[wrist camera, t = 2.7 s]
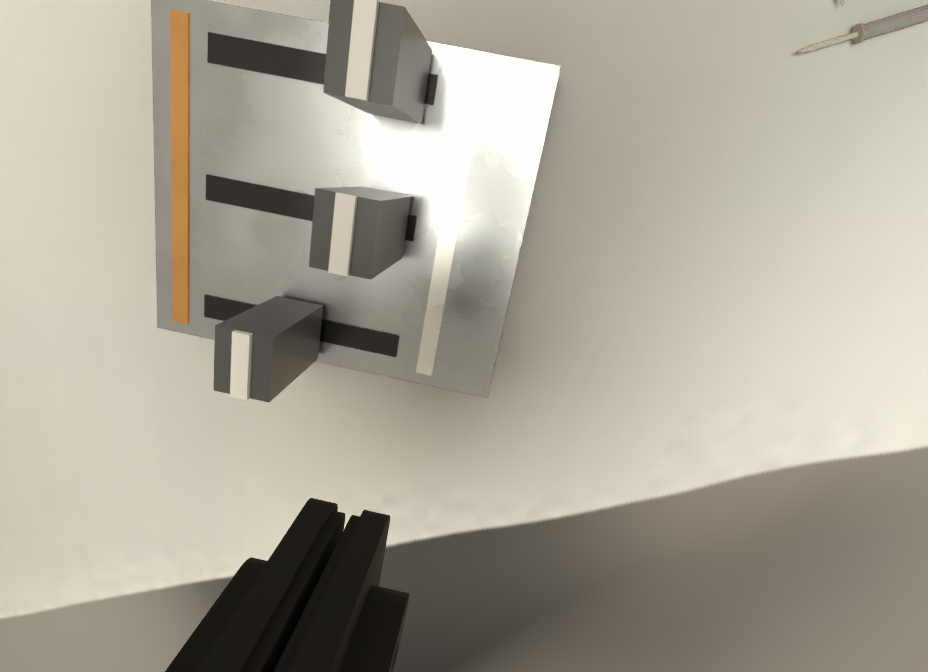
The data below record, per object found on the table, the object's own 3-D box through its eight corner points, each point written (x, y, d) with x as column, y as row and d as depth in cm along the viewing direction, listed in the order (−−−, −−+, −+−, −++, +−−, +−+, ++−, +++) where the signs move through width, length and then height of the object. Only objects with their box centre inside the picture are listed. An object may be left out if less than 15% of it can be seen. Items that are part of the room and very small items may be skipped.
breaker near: (376, 39, 17) (328, -10, 13) (432, 49, 17) (403, 4, 13) (368, 113, 18) (320, 91, 13) (421, 123, 18) (390, 104, 13)
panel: (180, 5, 19) (149, -11, 17) (557, 75, 18) (560, 65, 17) (180, 317, 23) (156, 328, 22) (489, 383, 23) (487, 398, 21)
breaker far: (276, 296, 20) (211, 327, 16) (323, 305, 20) (270, 339, 16) (273, 348, 21) (210, 392, 17) (318, 358, 21) (266, 404, 17)
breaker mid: (360, 186, 19) (312, 187, 14) (411, 196, 19) (379, 201, 14) (353, 248, 19) (306, 268, 15) (402, 258, 19) (368, 280, 15)
